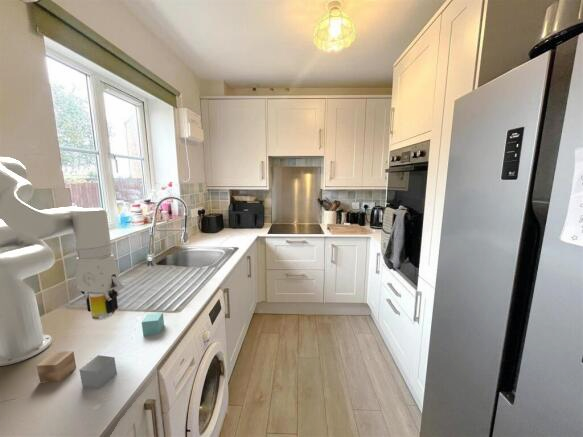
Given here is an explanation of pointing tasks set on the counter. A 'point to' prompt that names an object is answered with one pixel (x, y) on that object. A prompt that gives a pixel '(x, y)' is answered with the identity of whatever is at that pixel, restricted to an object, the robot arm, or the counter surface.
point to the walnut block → (56, 366)
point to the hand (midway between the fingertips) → (103, 309)
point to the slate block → (98, 372)
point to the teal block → (152, 323)
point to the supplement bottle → (99, 306)
